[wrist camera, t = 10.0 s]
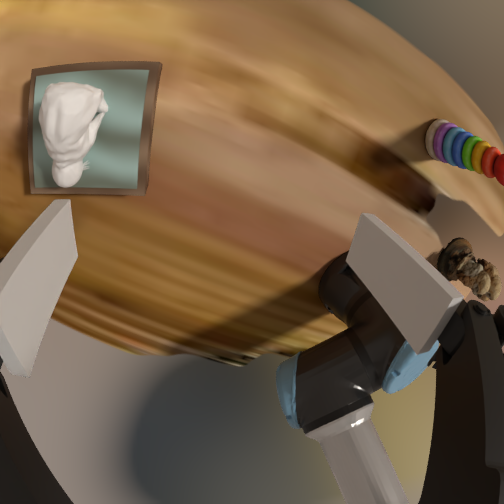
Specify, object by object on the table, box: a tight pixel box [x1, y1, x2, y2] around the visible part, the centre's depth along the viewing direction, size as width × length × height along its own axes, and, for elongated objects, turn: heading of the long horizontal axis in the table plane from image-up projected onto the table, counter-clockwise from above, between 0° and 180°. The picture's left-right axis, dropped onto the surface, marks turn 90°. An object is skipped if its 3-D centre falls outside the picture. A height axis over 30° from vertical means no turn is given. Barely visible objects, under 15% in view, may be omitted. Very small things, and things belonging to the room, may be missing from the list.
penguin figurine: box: [39, 82, 108, 188], centre depth 23 cm, size 6×8×12 cm
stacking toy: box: [425, 119, 504, 186], centre depth 34 cm, size 8×8×19 cm
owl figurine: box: [437, 238, 501, 301], centre depth 54 cm, size 18×12×17 cm, turn 61°
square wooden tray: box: [28, 61, 162, 196], centre depth 28 cm, size 16×16×4 cm
